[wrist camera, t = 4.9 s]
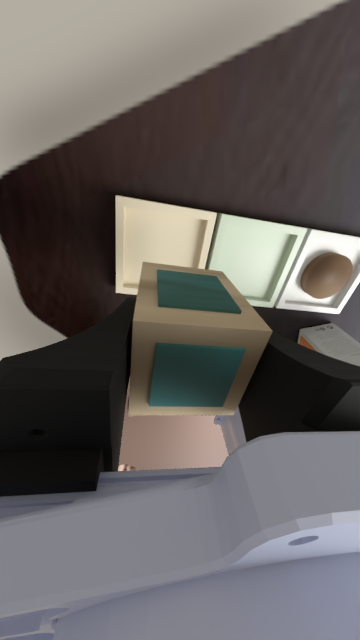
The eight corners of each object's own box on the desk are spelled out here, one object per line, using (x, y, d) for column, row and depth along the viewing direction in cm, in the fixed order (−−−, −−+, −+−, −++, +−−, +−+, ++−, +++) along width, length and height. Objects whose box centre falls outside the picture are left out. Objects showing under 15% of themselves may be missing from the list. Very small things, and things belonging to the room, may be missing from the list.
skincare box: (297, 328, 25) (395, 423, 15) (332, 321, 25) (454, 412, 15) (291, 364, 28) (367, 462, 18) (322, 358, 28) (415, 452, 18)
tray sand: (195, 295, 21) (197, 300, 20) (117, 287, 20) (115, 292, 19) (213, 211, 17) (217, 213, 16) (118, 195, 16) (115, 195, 15)
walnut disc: (329, 296, 22) (336, 300, 21) (292, 292, 21) (298, 296, 21) (353, 255, 20) (362, 258, 19) (313, 249, 19) (320, 252, 18)
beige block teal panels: (205, 335, 14) (234, 417, 9) (138, 330, 13) (128, 418, 8) (223, 269, 12) (276, 330, 7) (142, 259, 11) (132, 319, 6)
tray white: (331, 308, 24) (338, 314, 23) (270, 302, 22) (276, 308, 21) (373, 239, 20) (385, 242, 19) (303, 227, 18) (311, 229, 17)
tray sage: (267, 302, 22) (272, 307, 21) (199, 295, 21) (201, 300, 20) (299, 226, 18) (307, 228, 17) (218, 212, 17) (222, 214, 16)
